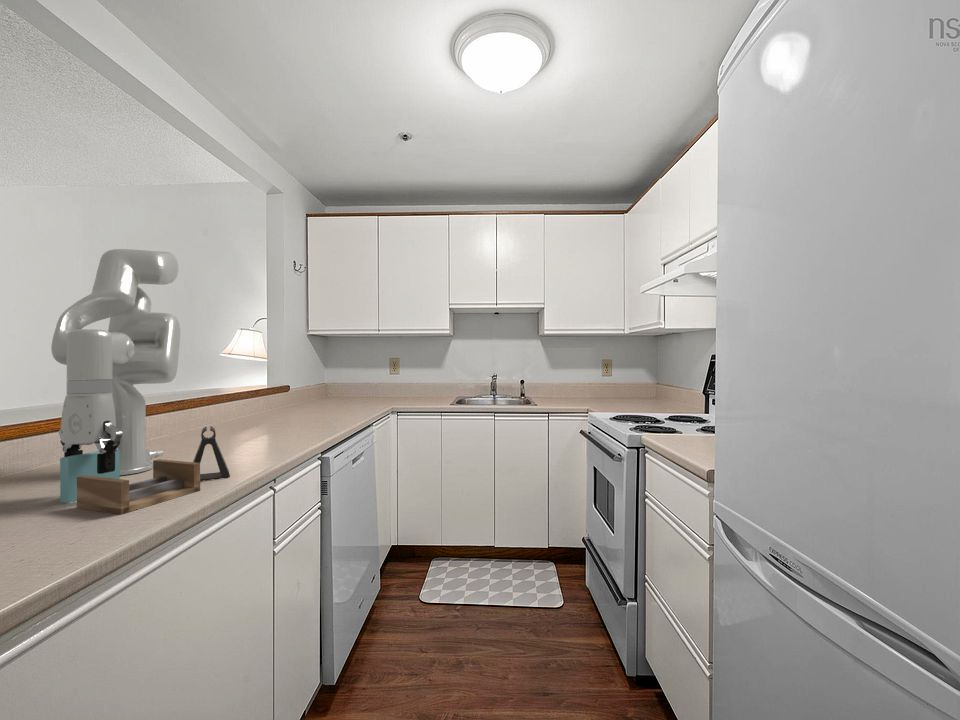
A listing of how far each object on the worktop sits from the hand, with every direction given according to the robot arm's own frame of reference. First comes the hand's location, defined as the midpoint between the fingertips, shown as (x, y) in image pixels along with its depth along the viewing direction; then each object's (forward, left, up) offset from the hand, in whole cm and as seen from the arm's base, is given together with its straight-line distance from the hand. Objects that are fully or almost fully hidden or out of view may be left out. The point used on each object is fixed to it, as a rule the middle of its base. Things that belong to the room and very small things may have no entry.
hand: (89, 471), depth 102 cm
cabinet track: (-3, +11, -5) cm, 13 cm away
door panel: (-1, -1, -6) cm, 6 cm away
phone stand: (-21, +9, -6) cm, 23 cm away
